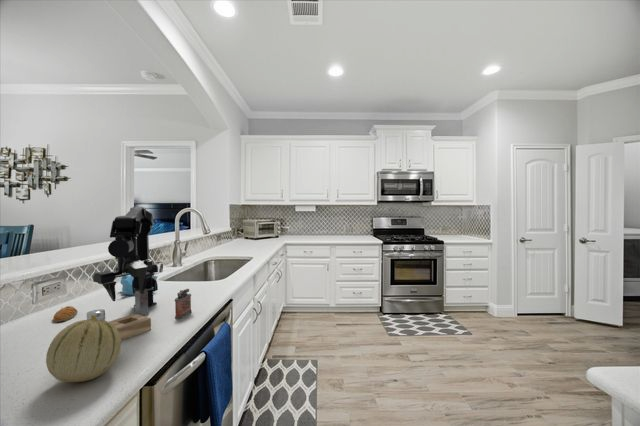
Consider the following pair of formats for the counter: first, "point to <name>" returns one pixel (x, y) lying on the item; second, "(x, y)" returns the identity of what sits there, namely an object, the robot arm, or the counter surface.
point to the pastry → (65, 314)
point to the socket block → (131, 325)
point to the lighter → (182, 304)
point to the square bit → (141, 303)
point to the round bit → (96, 314)
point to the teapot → (128, 284)
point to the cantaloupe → (83, 350)
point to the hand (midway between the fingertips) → (128, 297)
